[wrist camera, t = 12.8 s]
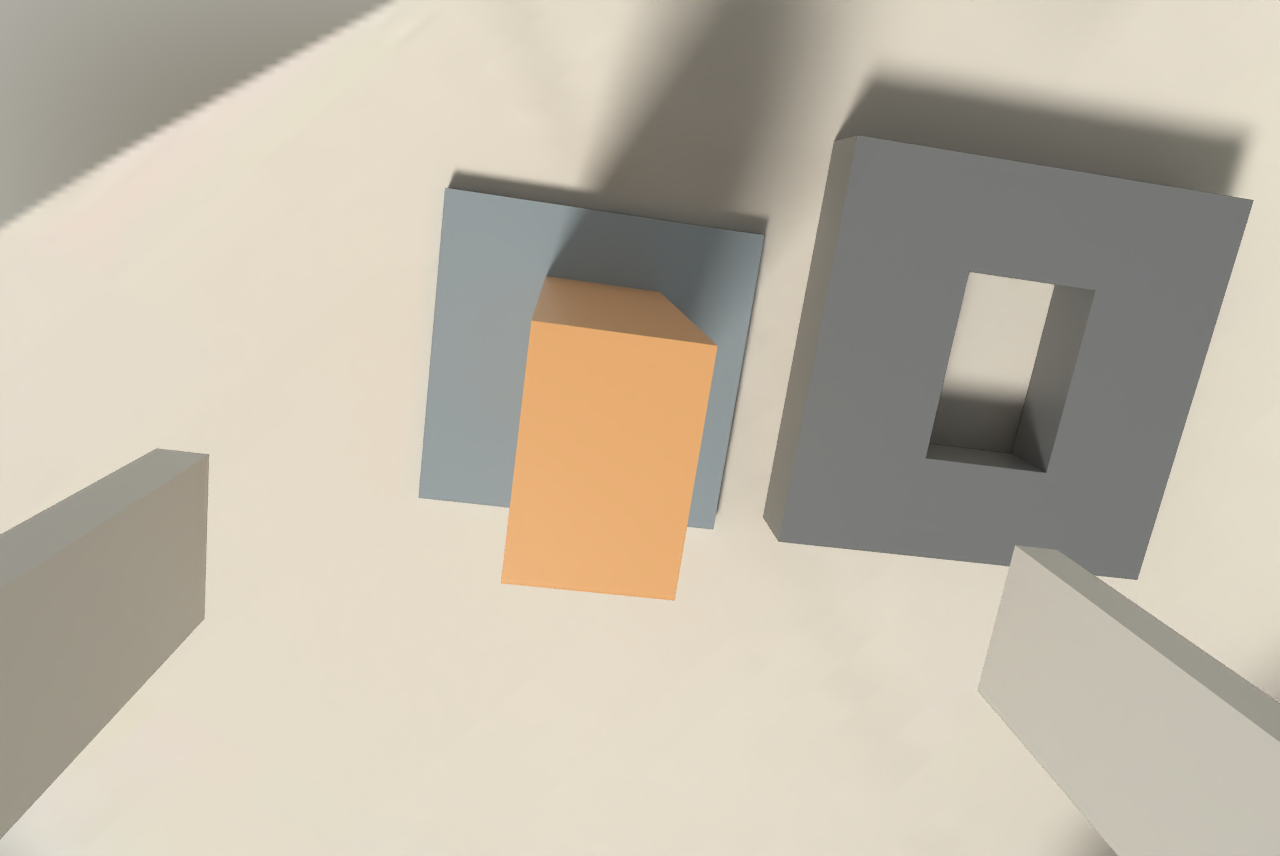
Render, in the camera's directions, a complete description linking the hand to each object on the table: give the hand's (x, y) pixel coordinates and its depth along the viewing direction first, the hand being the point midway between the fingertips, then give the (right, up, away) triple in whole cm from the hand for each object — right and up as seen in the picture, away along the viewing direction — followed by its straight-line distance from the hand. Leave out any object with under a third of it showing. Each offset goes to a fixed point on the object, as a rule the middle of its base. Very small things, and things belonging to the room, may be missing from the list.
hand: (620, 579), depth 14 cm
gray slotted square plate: (+13, +5, +18) cm, 23 cm away
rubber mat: (-2, +5, +17) cm, 18 cm away
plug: (-1, +5, +17) cm, 17 cm away
